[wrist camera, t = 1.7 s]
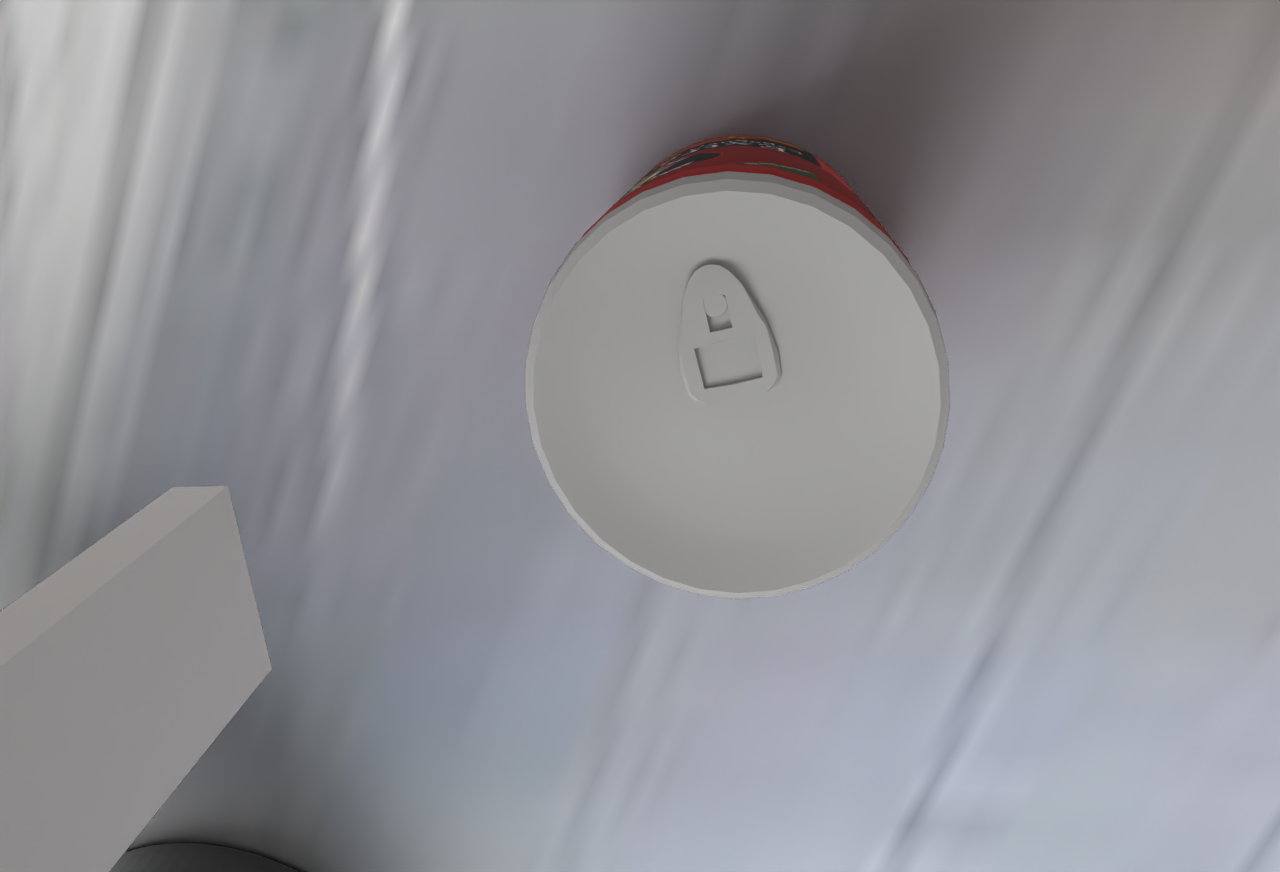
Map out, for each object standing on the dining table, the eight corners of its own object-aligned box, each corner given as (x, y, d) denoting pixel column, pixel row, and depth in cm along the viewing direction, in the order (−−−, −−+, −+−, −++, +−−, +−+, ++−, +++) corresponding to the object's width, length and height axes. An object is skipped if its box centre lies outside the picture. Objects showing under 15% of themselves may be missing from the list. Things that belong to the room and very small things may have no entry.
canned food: (801, 76, 25) (831, 84, 15) (928, 339, 27) (1030, 502, 17) (554, 219, 27) (434, 312, 17) (689, 454, 29) (654, 660, 19)
